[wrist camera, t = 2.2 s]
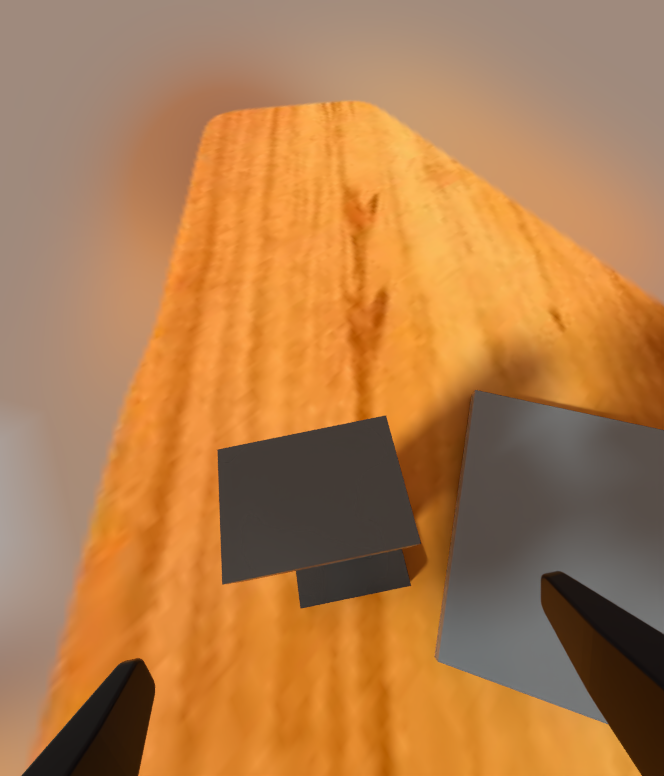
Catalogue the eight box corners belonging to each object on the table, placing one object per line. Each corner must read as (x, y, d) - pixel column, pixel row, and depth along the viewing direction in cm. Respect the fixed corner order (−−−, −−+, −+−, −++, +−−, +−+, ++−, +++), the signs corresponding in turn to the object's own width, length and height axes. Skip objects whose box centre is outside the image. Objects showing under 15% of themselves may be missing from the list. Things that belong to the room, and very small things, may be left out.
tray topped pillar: (407, 584, 17) (505, 631, 5) (304, 605, 17) (168, 701, 5) (382, 480, 19) (409, 349, 7) (291, 498, 19) (175, 396, 7)
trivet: (795, 789, 13) (821, 802, 12) (434, 657, 15) (438, 661, 15) (733, 452, 18) (748, 448, 17) (471, 396, 21) (475, 389, 20)
